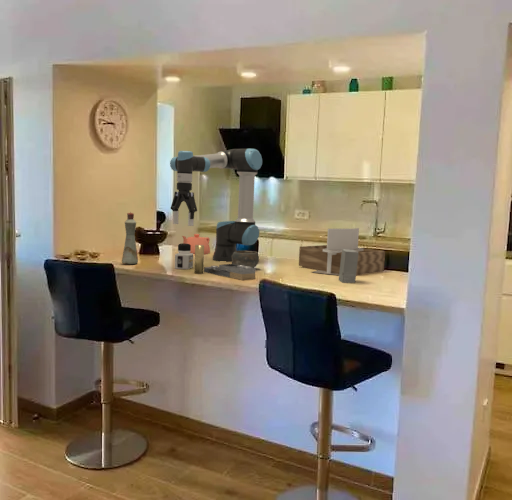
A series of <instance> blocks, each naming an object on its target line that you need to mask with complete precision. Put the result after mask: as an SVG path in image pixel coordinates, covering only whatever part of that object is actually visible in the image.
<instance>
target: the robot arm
mask: <svg viewBox="0 0 512 500" xmlns="http://www.w3.org/2000/svg"><path fill="white" fill-rule="evenodd" d="M169 165H170V169H171V170H172V171H174V172H176V181H177V183H176V190H177V191H174V195H173V199H172V203H171V205H170V210H172V224H173V225H178V224H179V215H180V214H179V209H180V206H181V205H182V203H185V204H186V207H187V209H188V214H187V215H188V216H187V226H188V227H194V222H195V221H194V219H195V213H196V212H198V208H197V203H196V200H195V192H191V191H192V189H193V183H192V182H193V172H198V173H199V172H200V173H206V172H209V170H210V169H213V168H218V169H220V170H221V169H230V170H236V174H238V176H239V178H238V202H237V203H238V206H237V218H236V219H235V220H231V221H230V220H227V221H219V222H217V224H216V230H215V231H216V232H215V233H216V235H215V249H214V252H213V255H212V261H215V262H220V261H226V262H225V263H232V257H231V256H232V255H233V253H234V252H235V251H238V250H237V245H243V246H252V245H254V244H256V242H257V241H258V240H259V237H260V236H259V235H260V229H259V227H258V226H257V225H256V220H255V219H254V202H255V201H254V199H255V177H256V175H258V170H260V169H261V167H262V165H263V158H262V154H261V153H260V151H259V150H258V149H256V148H232V149H228V150H227V149H226V150H221V151H218V152H216V153H207V154H197V155H196V154H195V155H194V152H193V151H190V150H179V151H178V152H177V156H174V157H173V156H172V158H170V160H169Z"/></svg>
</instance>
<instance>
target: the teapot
mask: <svg viewBox="0 0 512 500" xmlns="http://www.w3.org/2000/svg"><path fill="white" fill-rule="evenodd" d="M181 237H182V239H183V242H182V243H186V244H190V245H191V252H190V253H193V254H195V245H204V255H208V253H209V254H211V248H210V240H211V239H210V237H206V236H205V237H203V236H200V234H199V233H194V234H193V236H188V237H187V236H185V235H181Z"/></svg>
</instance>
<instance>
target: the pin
mask: <svg viewBox="0 0 512 500" xmlns="http://www.w3.org/2000/svg"><path fill="white" fill-rule="evenodd" d="M204 259H205V254H204V245H195V255H194V274H197V275H202V274H203V275H204V267H205V266H204V263H205V262H204V261H205V260H204Z"/></svg>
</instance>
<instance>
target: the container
mask: <svg viewBox="0 0 512 500" xmlns="http://www.w3.org/2000/svg"><path fill="white" fill-rule="evenodd" d="M190 252H191V245H190V244H186V243H183V242H182V243H178V245H177V253H175V254H174V269H175V270H176V269H177V270H178V269H179V270H190V268H191V269H192V268H194V255H193V253H190Z"/></svg>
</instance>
